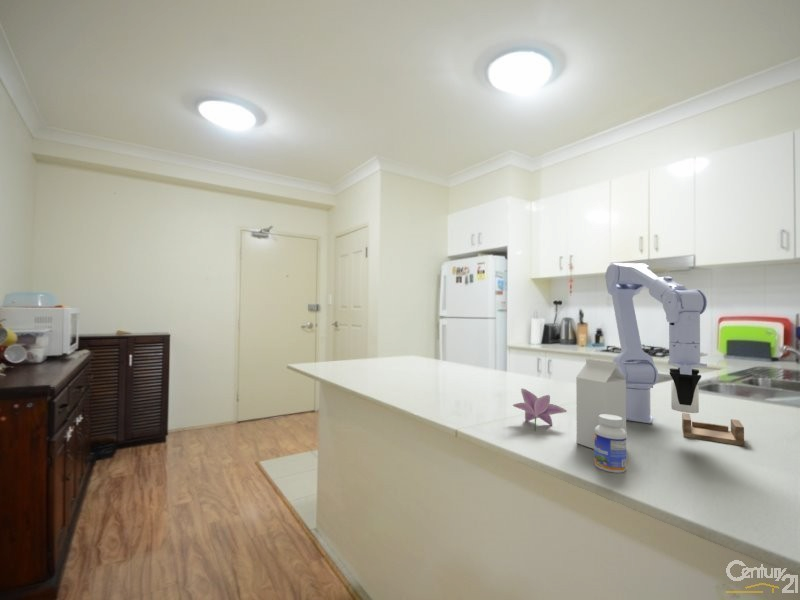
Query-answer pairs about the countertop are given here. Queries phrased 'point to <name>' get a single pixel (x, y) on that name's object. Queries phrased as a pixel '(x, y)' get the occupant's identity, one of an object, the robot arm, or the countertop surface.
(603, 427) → the pill bottle
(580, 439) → the milk carton
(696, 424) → the holder
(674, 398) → the paper roll
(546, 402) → the lily
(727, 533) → the countertop surface
